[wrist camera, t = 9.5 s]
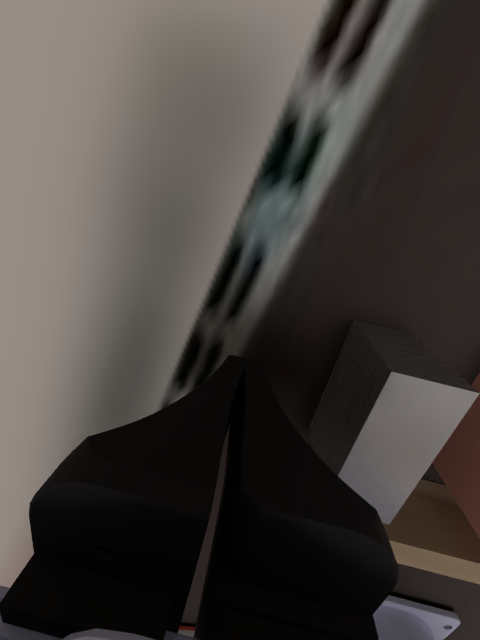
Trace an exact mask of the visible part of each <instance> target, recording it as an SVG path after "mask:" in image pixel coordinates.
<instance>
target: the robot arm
mask: <svg viewBox="0 0 480 640" xmlns="http://www.w3.org/2000/svg"><path fill="white" fill-rule="evenodd" d="M229 424H230V429H229V439H228V449H227V459H226V469H225V478H224V485H223V491H222V496H221V501H220V506H219V511H218V517H217V522H216V527H215V532H214V537H213V542H212V547H211V552H210V557H209V562H208V567H207V572H206V577H205V582H204V587H203V592H202V597H201V602H200V607H199V612H198V617H197V622H196V627H195V632H194V637H189V636H185V635H182V634H178V631H179V627H180V623H181V620H182V616H183V612H184V609H185V605H186V601H187V597H188V595H189V592H190V588H191V584H192V580H193V577H194V573H195V569H196V566H197V562H198V558H199V555H200V551H201V547H202V544H203V540H204V536H205V532H206V529H207V525H208V521H209V517H210V513H211V508H212V503H213V498H214V493H215V488H216V482H217V476H218V471H219V465H220V459H221V454H222V448H223V443H224V439H225V436H226V433H227V430H228V427H229ZM29 518H30V526H31V533H32V541H33V548H34V555H33V556H32V557H31V559H30V560H29V562H28V563H27V565H26V566H25V568H24V569H23V570H22V572H21V574H20V575H19V576H18V578H17V579H16V581H15V582H14V583H13V585H12V586H11V588H8V587H4V586H0V640H444V639H445V638H446V637H447V636H448V635H449V634H450V633H451V632H452V631H454V630H455V629H456V628H457V627H458V626H459V625H460V620H459V618H458V616H457V614H456V613H454V612H452V611H448V610H444V609H440V608H436V607H433V606H429V605H425V604H421V603H417V602H414V601H410V600H406V599H402V598H398V597H395V596H391V595H390V593H391V592H392V590H393V588H394V586H395V584H396V583H397V581H398V575H399V567H398V564H397V561H396V559H395V556H394V553H393V550H392V547H391V544H390V541H389V538H388V536H387V533H386V530H385V528H384V526H383V523H382V521H381V519H380V516H379V514H378V512H377V510H376V509H375V508H374V507H373V506H371V505H370V504H369V503H368V502H367V501H366V500H364V499H363V498H362V497H361V496H360V495H359V494H357V493H356V492H355V491H354V490H353V489H352V488H350V487H349V486H348V485H347V484H346V483H345V482H344V481H343V480H341V479H340V478H339V477H338V476H337V475H336V474H335V473H334V472H333V471H332V470H331V469H330V468H329V467H328V466H327V465H326V464H325V463H324V462H323V461H322V460H321V459H320V457H319V456H318V455H317V454H316V453H315V452H314V451H313V450H312V448H311V447H310V446H309V445H308V444H307V443H306V442H305V440H304V439H303V438H302V437H301V435H300V434H299V433H298V432H297V430H296V429H295V427H294V426H293V425H292V423H291V422H290V420H289V419H288V417H287V416H286V414H285V413H284V411H283V409H282V407H281V406H280V404H279V402H278V400H277V398H276V396H275V394H274V392H273V390H272V388H271V386H270V384H269V381H268V379H267V377H266V374H265V371H264V368H263V365H262V364H261V362H258V361H254V360H250V359H246V358H242V357H238V356H234V355H229V356H228V357H227V358H226V360H225V361H224V362H223V364H222V365H221V366H220V367H219V368H218V369H217V370H216V371H215V372H214V373H213V374H212V375H211V376H210V377H209V378H208V379H206V380H205V381H204V382H203V383H202V384H200V385H199V386H198V387H197V388H195V389H194V390H193V391H191V392H190V393H189V394H187V395H186V396H184V397H183V398H181V399H179V400H178V401H176V402H174V403H173V404H171V405H169V406H167V407H166V408H164V409H162V410H160V411H158V412H156V413H154V414H152V415H150V416H147V417H145V418H143V419H141V420H138V421H136V422H133V423H130V424H127V425H125V426H122V427H118V428H115V429H112V430H109V431H106V432H102V433H99V434H96V435H92V436H89V437H87V438H86V439H85V440H84V441H83V442H82V443H81V444H80V445H79V446H78V447H77V448H76V449H75V450H73V451H72V452H71V454H69V456H68V457H66V459H65V460H64V461H63V462H62V463H61V464H60V465H59V466H58V468H57V469H56V470H55V471H54V472H53V474H52V475H51V476H50V477H49V478H48V479H47V481H46V482H45V483H44V484H43V485H42V487H41V488H40V489H39V490H38V491H37V493H36V494H35V496H34V497H33V499H32V501H31V502H30V509H29Z"/></svg>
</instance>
